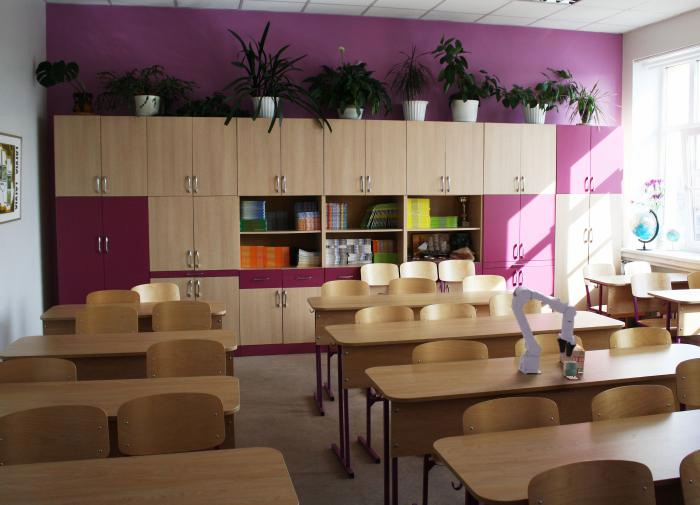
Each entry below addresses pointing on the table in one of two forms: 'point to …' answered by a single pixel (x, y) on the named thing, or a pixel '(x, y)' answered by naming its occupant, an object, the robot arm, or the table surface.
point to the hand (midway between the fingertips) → (565, 354)
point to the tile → (569, 368)
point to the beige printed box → (575, 357)
